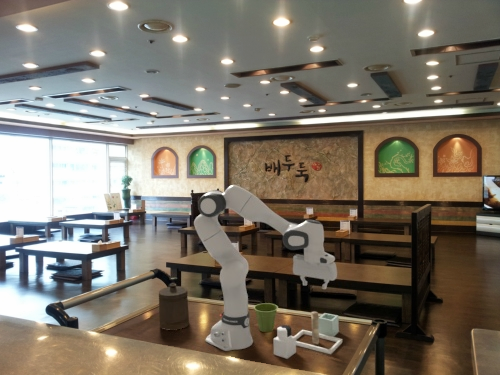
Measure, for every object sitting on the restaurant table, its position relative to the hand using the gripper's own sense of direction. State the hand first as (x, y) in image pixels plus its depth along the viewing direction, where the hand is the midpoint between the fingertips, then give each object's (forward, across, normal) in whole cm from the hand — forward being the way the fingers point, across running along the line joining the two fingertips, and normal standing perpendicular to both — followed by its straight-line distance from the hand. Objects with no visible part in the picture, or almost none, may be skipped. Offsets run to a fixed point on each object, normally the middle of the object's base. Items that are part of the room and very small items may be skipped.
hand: (314, 286), depth 185 cm
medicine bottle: (+27, -8, -14) cm, 31 cm away
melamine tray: (+27, 0, 0) cm, 27 cm away
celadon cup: (+27, +1, +12) cm, 29 cm away
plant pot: (+27, -28, +3) cm, 39 cm away
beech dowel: (+26, 0, 0) cm, 26 cm away
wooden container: (+27, -72, -16) cm, 79 cm away
